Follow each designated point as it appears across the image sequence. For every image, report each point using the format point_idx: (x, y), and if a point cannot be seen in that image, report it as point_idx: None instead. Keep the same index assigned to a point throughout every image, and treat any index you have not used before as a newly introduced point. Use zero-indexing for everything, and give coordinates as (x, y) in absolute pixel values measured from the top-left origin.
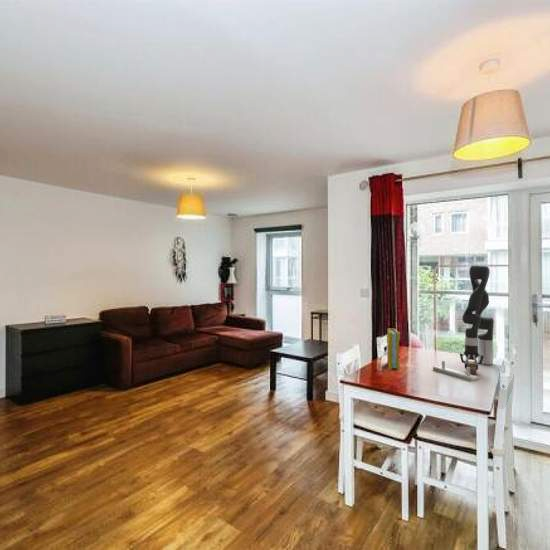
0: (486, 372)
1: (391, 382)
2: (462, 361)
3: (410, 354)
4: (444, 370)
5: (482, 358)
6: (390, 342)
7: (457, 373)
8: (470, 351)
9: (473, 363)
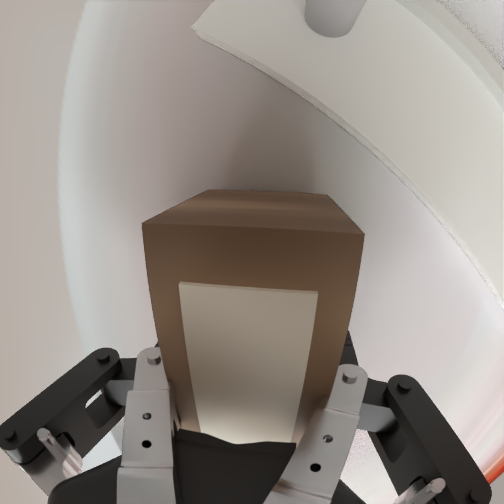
0: (127, 340)
1: None
2: (410, 386)
3: (494, 463)
4: None
5: (28, 411)
6: None
7: (456, 19)
8: None
9: (203, 306)
